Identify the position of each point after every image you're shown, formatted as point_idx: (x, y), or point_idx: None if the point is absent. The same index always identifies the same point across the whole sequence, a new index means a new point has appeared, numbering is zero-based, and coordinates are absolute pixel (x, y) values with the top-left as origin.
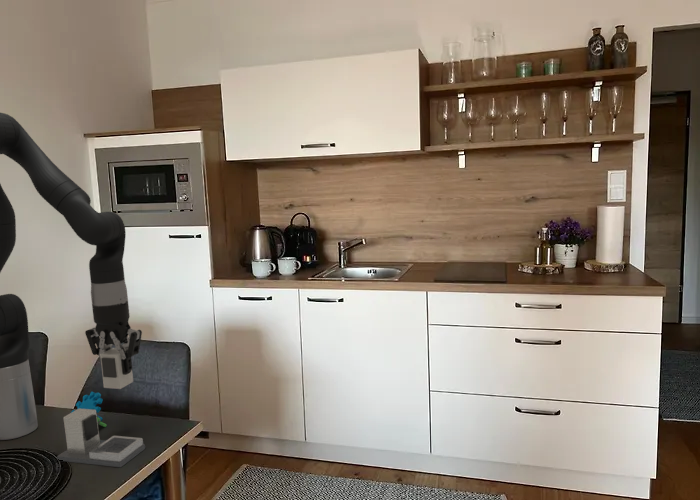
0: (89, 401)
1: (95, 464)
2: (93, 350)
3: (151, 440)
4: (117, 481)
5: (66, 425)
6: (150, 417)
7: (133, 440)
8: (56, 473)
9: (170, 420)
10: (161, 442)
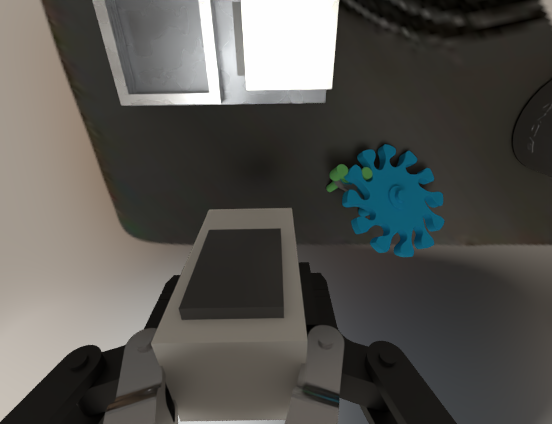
0: (397, 224)
1: None
2: (399, 373)
3: (156, 146)
4: None
5: None
6: None
7: (144, 94)
8: None
9: (194, 237)
10: (122, 142)
